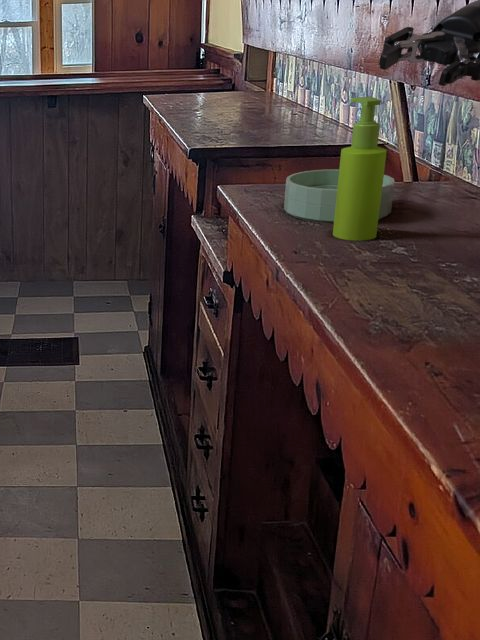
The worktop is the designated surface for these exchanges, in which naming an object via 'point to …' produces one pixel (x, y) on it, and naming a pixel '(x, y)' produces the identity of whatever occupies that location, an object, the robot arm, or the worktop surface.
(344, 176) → the soap dispenser
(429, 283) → the worktop surface
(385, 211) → the bowl
